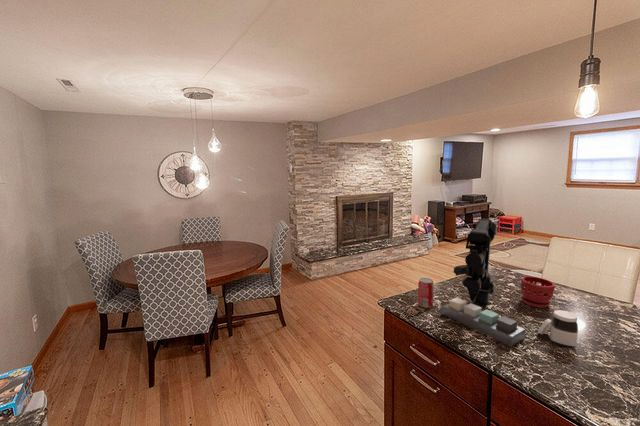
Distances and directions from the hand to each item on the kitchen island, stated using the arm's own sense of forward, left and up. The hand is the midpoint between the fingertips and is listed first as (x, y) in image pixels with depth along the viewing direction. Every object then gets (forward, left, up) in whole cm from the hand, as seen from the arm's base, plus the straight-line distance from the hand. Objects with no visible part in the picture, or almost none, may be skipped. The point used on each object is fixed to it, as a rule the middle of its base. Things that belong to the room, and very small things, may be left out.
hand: (474, 296), depth 125 cm
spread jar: (-16, +24, -13) cm, 32 cm away
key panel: (-2, +2, -13) cm, 13 cm away
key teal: (-2, +5, -10) cm, 12 cm away
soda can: (+2, -23, -13) cm, 27 cm away
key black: (-2, +12, -10) cm, 16 cm away
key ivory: (-2, -9, -10) cm, 13 cm away
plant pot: (-45, +5, -13) cm, 47 cm away
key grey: (-2, -2, -10) cm, 10 cm away
